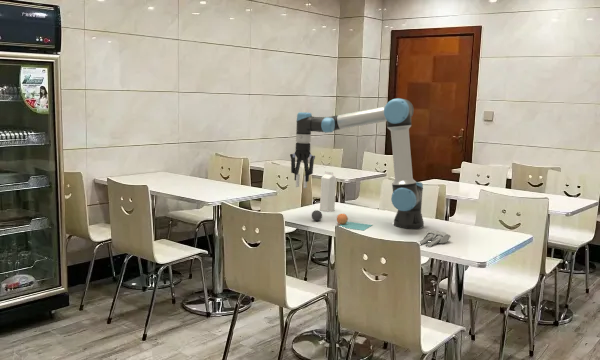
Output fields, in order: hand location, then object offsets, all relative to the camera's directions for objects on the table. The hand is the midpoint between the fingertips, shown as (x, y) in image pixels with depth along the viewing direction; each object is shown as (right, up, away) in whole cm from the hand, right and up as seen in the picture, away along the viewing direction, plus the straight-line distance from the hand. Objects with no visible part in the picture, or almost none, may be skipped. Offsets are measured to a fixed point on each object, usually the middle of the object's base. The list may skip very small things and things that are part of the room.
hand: (301, 187), depth 306 cm
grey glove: (+60, -25, -38) cm, 75 cm away
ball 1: (+8, -15, -2) cm, 17 cm away
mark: (+27, -19, -10) cm, 35 cm away
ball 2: (+21, -16, -8) cm, 27 cm away
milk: (+15, -14, +27) cm, 34 cm away
